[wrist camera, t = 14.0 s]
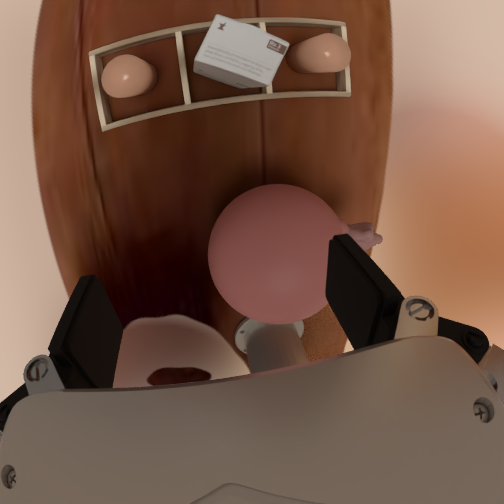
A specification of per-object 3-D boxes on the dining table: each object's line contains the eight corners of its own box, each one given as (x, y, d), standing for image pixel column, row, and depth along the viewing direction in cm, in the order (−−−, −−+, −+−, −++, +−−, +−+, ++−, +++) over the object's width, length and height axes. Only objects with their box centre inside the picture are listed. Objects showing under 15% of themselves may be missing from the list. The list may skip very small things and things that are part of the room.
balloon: (343, 252, 43) (393, 321, 31) (216, 278, 41) (229, 364, 29) (348, 157, 35) (423, 205, 22) (195, 178, 33) (195, 244, 20)
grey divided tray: (341, 95, 30) (377, 101, 23) (108, 128, 27) (84, 141, 21) (335, 25, 24) (370, 14, 18) (96, 53, 22) (68, 47, 15)
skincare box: (192, 73, 26) (187, 63, 16) (207, 38, 24) (212, 11, 14) (243, 90, 28) (268, 91, 18) (258, 57, 26) (292, 41, 16)
